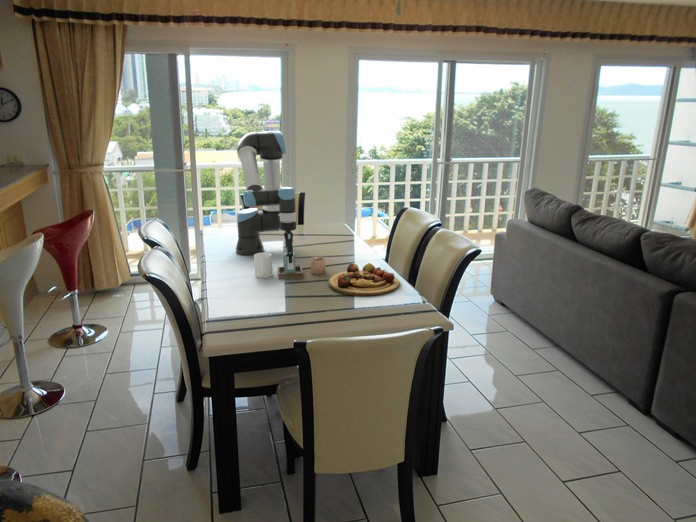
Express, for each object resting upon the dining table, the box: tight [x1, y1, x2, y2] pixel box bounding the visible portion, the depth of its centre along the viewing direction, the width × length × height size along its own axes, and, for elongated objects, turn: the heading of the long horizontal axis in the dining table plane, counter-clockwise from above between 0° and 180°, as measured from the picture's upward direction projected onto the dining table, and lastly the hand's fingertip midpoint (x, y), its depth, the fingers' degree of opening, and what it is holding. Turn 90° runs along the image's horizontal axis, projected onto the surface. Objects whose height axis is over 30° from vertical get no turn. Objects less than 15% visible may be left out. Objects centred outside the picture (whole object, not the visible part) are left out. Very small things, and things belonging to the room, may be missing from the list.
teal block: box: [283, 251, 296, 274], centre depth 250 cm, size 5×5×10 cm
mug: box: [253, 252, 273, 279], centre depth 248 cm, size 12×8×10 cm
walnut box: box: [277, 265, 304, 280], centre depth 251 cm, size 11×11×2 cm
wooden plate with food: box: [328, 262, 401, 297], centre depth 237 cm, size 32×32×8 cm
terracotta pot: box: [310, 255, 326, 275], centre depth 254 cm, size 7×7×7 cm
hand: (289, 265), depth 250 cm, fingers open, 13 cm apart
